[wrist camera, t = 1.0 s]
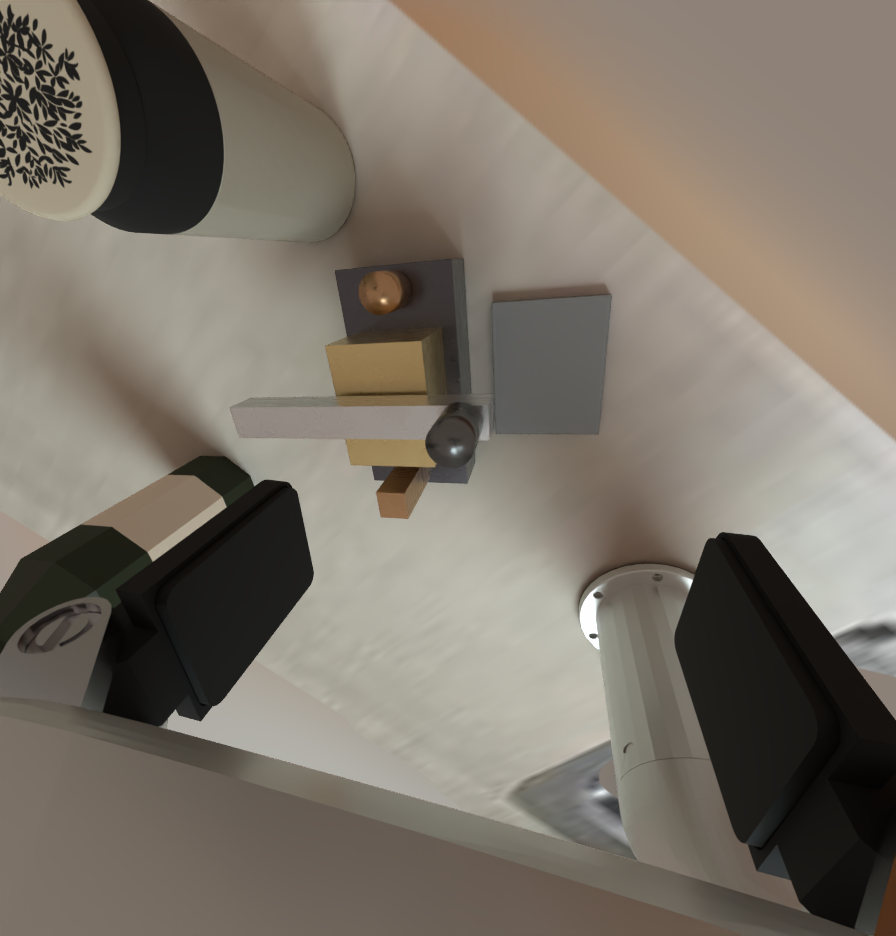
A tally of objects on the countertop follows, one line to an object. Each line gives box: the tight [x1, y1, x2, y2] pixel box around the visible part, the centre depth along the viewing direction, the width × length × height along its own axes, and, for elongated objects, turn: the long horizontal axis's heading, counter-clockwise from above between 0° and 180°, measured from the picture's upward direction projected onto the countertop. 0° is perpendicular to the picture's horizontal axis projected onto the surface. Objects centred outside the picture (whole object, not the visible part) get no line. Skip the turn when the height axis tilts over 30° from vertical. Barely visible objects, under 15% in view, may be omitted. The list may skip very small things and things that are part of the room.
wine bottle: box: [0, 456, 254, 654], centre depth 31 cm, size 8×8×30 cm
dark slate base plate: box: [335, 259, 475, 519], centre depth 28 cm, size 16×8×10 cm, turn 5°
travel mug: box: [0, 0, 355, 242], centre depth 20 cm, size 8×8×18 cm
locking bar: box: [230, 394, 494, 468], centre depth 23 cm, size 2×16×5 cm, turn 95°
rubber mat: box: [492, 294, 612, 434], centre depth 30 cm, size 10×8×1 cm
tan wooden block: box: [325, 327, 448, 467], centre depth 27 cm, size 8×6×5 cm
